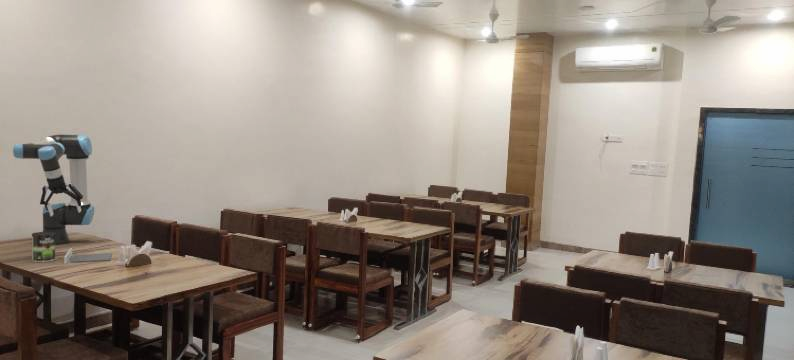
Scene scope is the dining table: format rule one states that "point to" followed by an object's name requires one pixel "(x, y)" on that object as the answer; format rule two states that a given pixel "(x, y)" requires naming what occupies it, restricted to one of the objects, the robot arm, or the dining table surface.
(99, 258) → the mat
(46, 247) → the coffee can
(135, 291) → the dining table surface
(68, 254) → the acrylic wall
